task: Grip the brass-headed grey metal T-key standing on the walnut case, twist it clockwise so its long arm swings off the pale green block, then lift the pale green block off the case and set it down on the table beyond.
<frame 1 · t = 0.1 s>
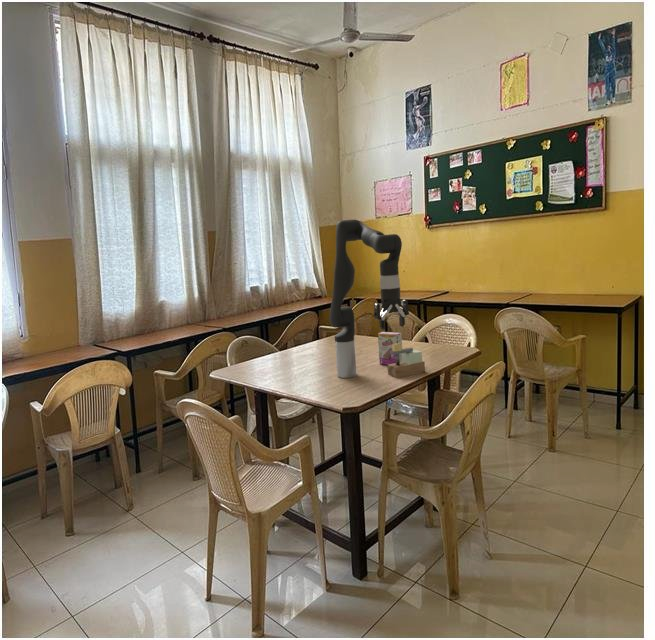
hand: (392, 328, 198), 29 cm above the table, fingers open, 8 cm apart
candy bar box: (391, 365, 258), on the table
pale green block: (412, 362, 240), point 5 cm above the table, touching case
key: (401, 353, 237), point 10 cm above the table, hinge at 0.0°
case: (406, 373, 239), on the table
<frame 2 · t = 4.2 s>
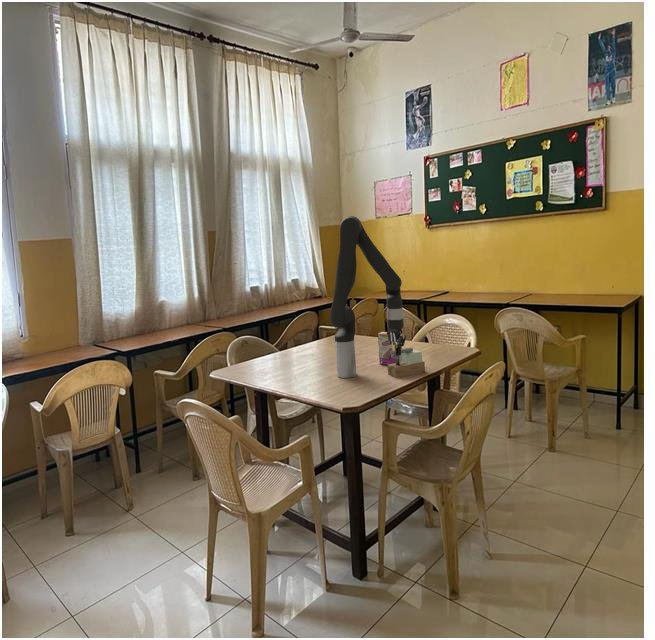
hand: (397, 354, 236), 10 cm above the table, fingers closed on key, 2 cm apart
key: (401, 353, 237), point 10 cm above the table, hinge at 0.0°, touching gripper
everything else where it was.
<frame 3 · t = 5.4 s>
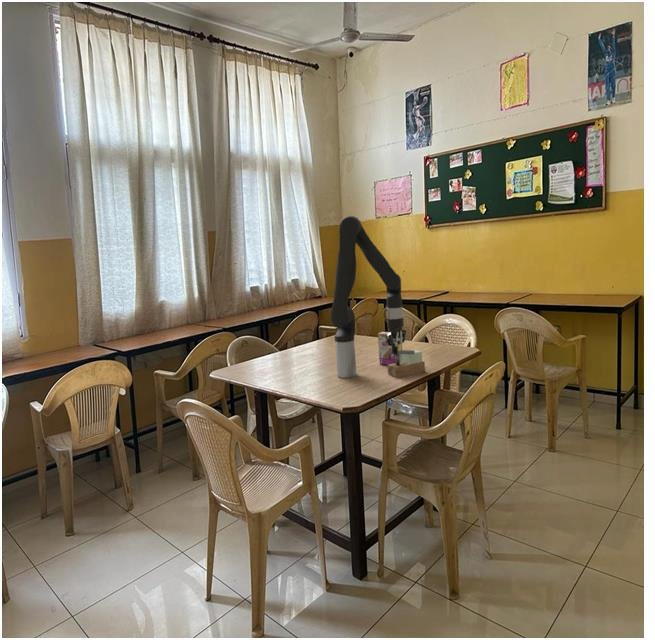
hand: (397, 353, 236), 11 cm above the table, fingers closed on key, 3 cm apart
key: (402, 354, 235), point 10 cm above the table, hinge at -45.0°, touching gripper
everything else where it was.
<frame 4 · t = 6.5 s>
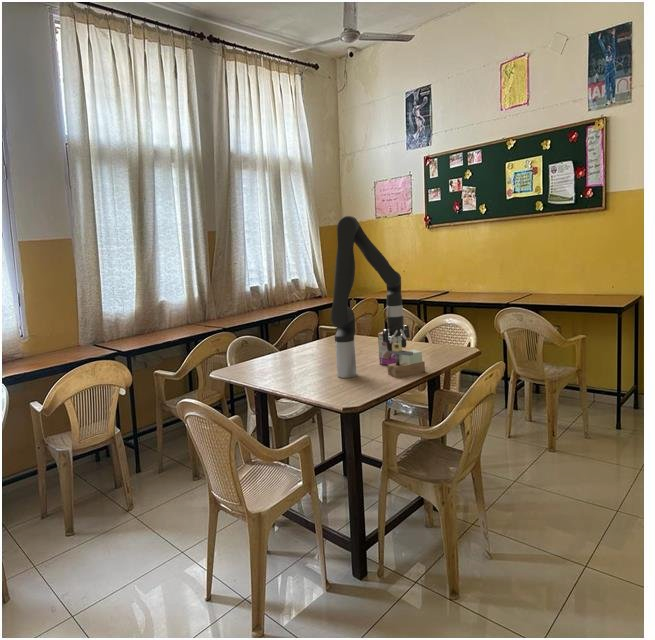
hand: (396, 349, 235), 12 cm above the table, fingers open, 8 cm apart
key: (401, 354, 234), point 10 cm above the table, hinge at -65.6°
everything else where it was.
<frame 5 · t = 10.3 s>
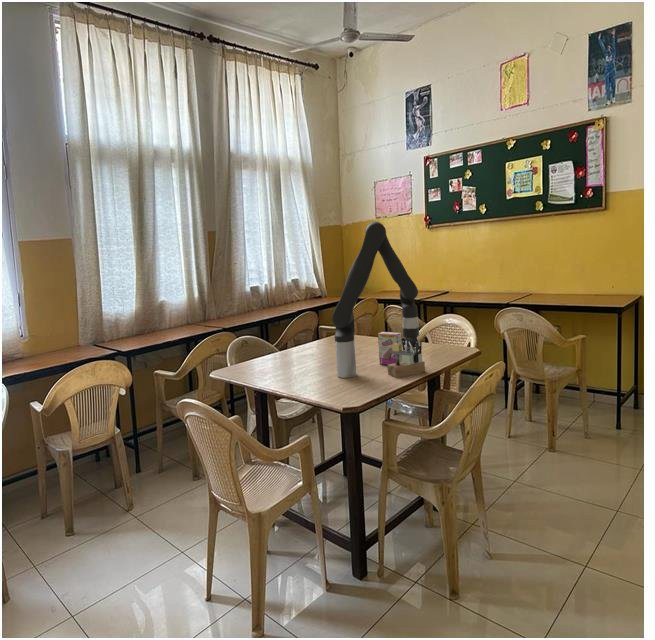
hand: (412, 361, 240), 5 cm above the table, fingers closed on pale green block, 6 cm apart
pale green block: (412, 362, 240), point 5 cm above the table, touching case, gripper
everything else where it was.
when the fingers open (2 cm above the table, at t = 17.5 s): pale green block drops 2 cm, on the table.
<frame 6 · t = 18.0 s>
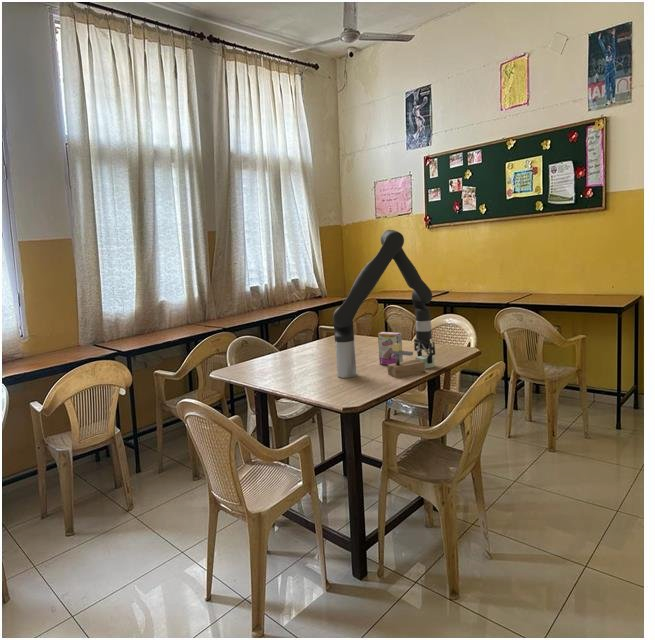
hand: (425, 361, 249), 2 cm above the table, fingers open, 8 cm apart
pale green block: (425, 366, 249), on the table
everything else where it was.
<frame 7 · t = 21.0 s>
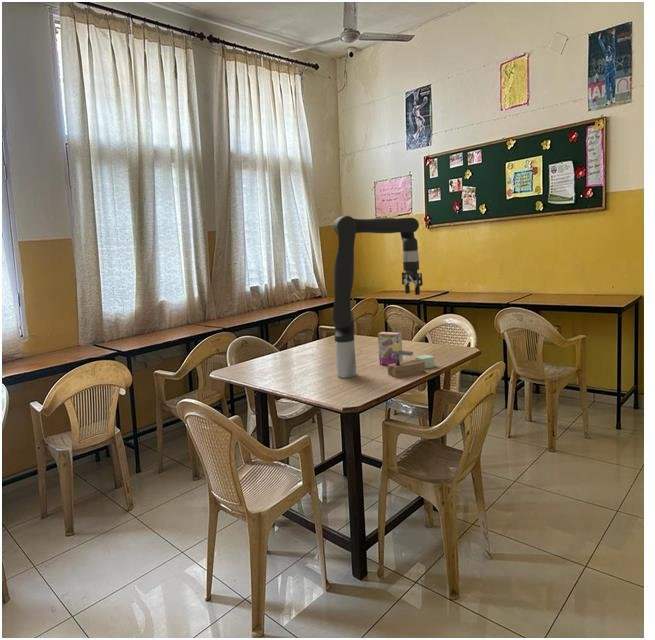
hand: (412, 294, 244), 36 cm above the table, fingers open, 8 cm apart
nothing on the table moved.
at the end: key at -66° (first picture: +0°); pale green block inside the target area (0.1 cm from its centre), on the table; the gripper is holding nothing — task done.
